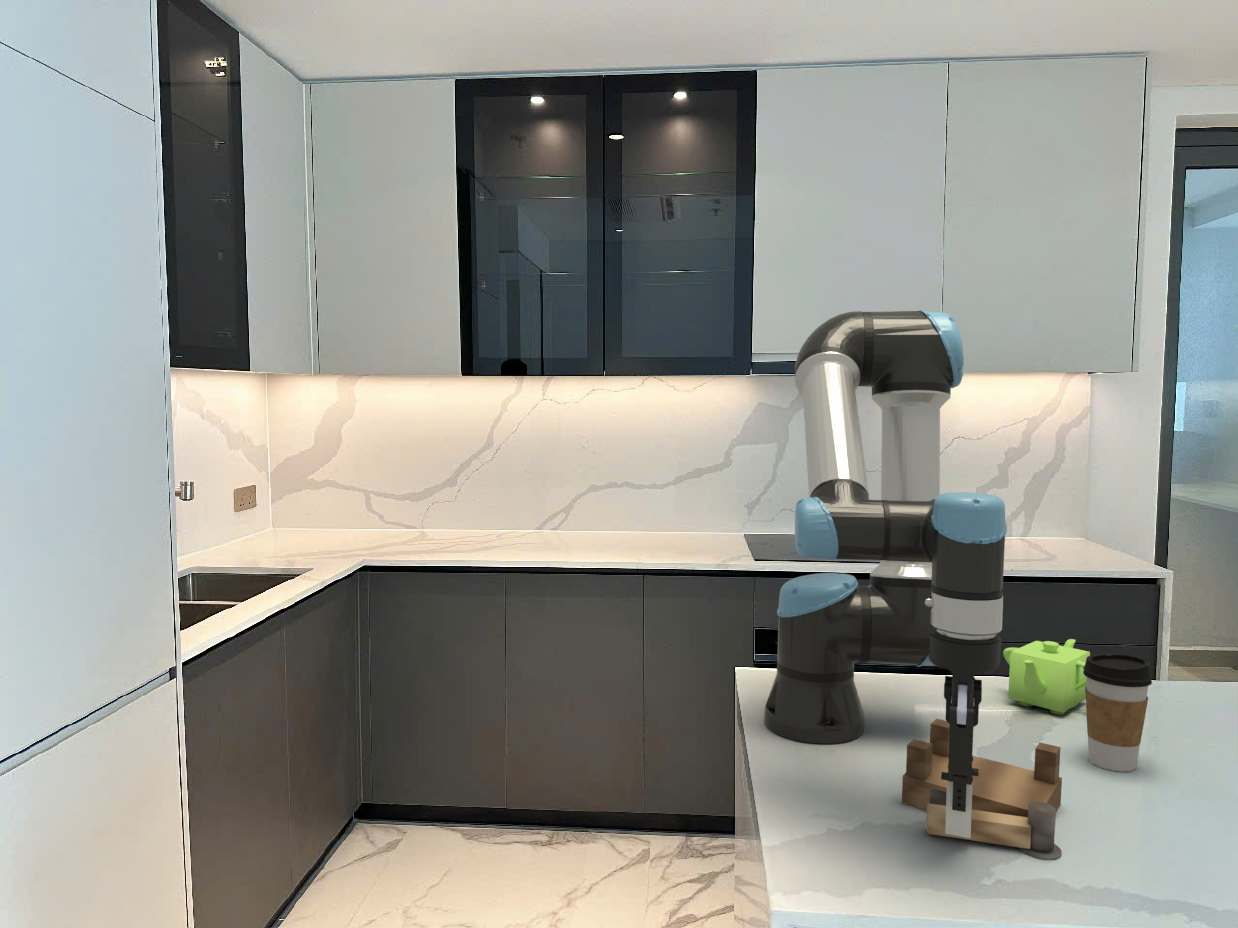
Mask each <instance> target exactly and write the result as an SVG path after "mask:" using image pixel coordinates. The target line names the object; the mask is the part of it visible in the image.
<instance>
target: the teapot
mask: <svg viewBox="0 0 1238 928" xmlns="http://www.w3.org/2000/svg"><path fill="white" fill-rule="evenodd" d="M1075 643H1076V639H1073V638H1069V639H1067V640H1066V641H1065V643H1064V645H1061V644H1059V643H1058V642H1055V641H1052V640H1051V641H1050V640H1045V641H1041V640H1035V641H1032V642H1030V643H1027V644H1026V645H1023V646H1021V647H1006V648H1005V649H1004V650H1003V651H1002V653H1003V654H1002V655H1003V657H1004V659H1005V661H1006V663H1007V664H1008V665H1009V673H1008V674H1009V676H1008V677H1009V678H1008V693H1007V695H1008V696H1007V698H1008V699H1009V700H1013V701H1016V702H1018V704H1019V705H1020V706H1024V707H1032V706H1036V707H1039V708H1044V709H1046V710H1050V711H1049V712H1050V713H1051V712H1052V714H1053V713H1054V715H1058V714H1063V715H1065V712H1067V711H1068V710H1070V709H1072V708H1076V707H1077V705H1078V704H1080V703H1082V702H1084V701H1086V697H1085V687H1086V686H1087V682H1086V676H1085V675H1084V674H1083V671H1084V669H1083V667H1084V666H1085V663H1086V658H1087V657H1088V656H1090V655H1091V652H1090V651H1088V650H1087V651H1086V650H1082V649H1079V648H1074V645H1075ZM1055 713H1056V714H1055Z"/></svg>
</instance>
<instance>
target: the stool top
mask: <svg viewBox="0 0 1238 928" xmlns="http://www.w3.org/2000/svg"><path fill="white" fill-rule="evenodd" d="M929 733H930V734H929V742H927V741H924V740H919V739H916V738H912V739H911V741H910V742H908V743H907V744H906V761H905V763H906V765H905V773H904V774H903V775H902V783H901V784H902V786H901V803H903V804H906V805H909V806H913V807H917V808H919V807H920V809H923V810H926V811H927V803H929V804H936V805H943V806H946V796H947V780H941V774H942V772H946V773H948V762H949V757H948V754H949V723H948V722H947V721H946V719H945V720H944V719H941V718H940V719H939V718H935V719H934V720H933V721H932V722H931V723H930V732H929ZM1034 750H1035V751H1034V767H1033V769H1034V770H1032V769H1028V768H1024V767H1020V766H1016V765H1014V764H1009V763H1004V762H1000V761H996V760H991V759H988V758H985V757H981V756H976V755H973V754H972V756H973V761H972V768H975V769H979V775H978V776H973V785H972V810H978V811H985V812H993V813H1000V814H1007V815H1014V816H1021V817H1028V805H1029V803H1030V802H1035V801H1037V802H1044V803H1047V804H1050V805H1052V806H1053V807H1055V809H1056V813H1057V812H1058V810H1059V808H1060V806H1061V803H1062V786H1063V777H1060V767H1061V766H1060V765H1061V763H1060V762H1061V761H1060V760H1061V746H1058V745H1052V744H1049V743H1044V742H1039V743H1038V744H1037V745H1036V747H1035V749H1034ZM1018 848H1019V850H1021V852H1023V853H1024V854H1026V855H1028V856H1030V857H1032V858H1035V859H1039V860H1047V861H1053V860H1057V859H1060V858H1061V857H1062V855H1063V854H1062V853H1063V852H1062V851H1063V850H1062V849H1061V847H1059V846H1058V845H1057V844H1055V843H1054V849H1053V850H1052V851H1049V852H1043V851H1038V850H1035V849H1033V848H1031V847H1030V849H1027V848H1020V847H1018Z"/></svg>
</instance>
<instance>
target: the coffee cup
mask: <svg viewBox="0 0 1238 928" xmlns="http://www.w3.org/2000/svg"><path fill="white" fill-rule="evenodd" d="M1151 666H1152V665H1151V662H1150V660H1148V659H1147V658H1144V657H1141V656H1138V655H1135V654H1134V655H1133V654H1124V653H1099V654H1098V653H1097V654H1090V656H1088V657H1087V658H1086V663H1085V666H1084V667H1083V669H1084V671H1083V674H1084V675H1085V676H1086V682H1087V686H1086V687H1085V697H1086V699H1085V712H1086V728H1087V729H1086V731H1087V746H1088V748H1087V750H1088V752H1087V753H1088V761H1089V762H1090V763H1091V764H1093V765H1094V766H1096V767H1099V768H1101V769H1105V770H1108V771H1113V772H1119V773H1120V772H1122V773H1125V772H1126V773H1127V772H1134V771H1135V770H1136V769H1137V767H1138V759H1139V754H1140V753H1139V752H1140V746H1141V743H1142V742H1141V741H1142V736H1143V730H1144V724H1145V720H1146V719H1145V718H1146V714H1147V713H1146V712H1147V707H1148V702H1149V696H1148V690H1149V686H1151V685H1152V684H1153V681H1152V680H1153V675H1152V669H1151Z"/></svg>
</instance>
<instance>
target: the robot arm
mask: <svg viewBox="0 0 1238 928" xmlns="http://www.w3.org/2000/svg"><path fill="white" fill-rule="evenodd" d="M962 340H963V339H962V336H961V332H960V329H959V327H958V324H957V323H956V320H955V319H954V317H952V315H950V314H948V313H946V312H940V311H938V312H937V311H926V310H921V309H919V310H908V311H907V310H906V311H905V310H902V311H900V310H899V311H861V310H860V311H859V310H858V311H857V310H856V311H847V312H843V313H840V314H838V315H835V316H833V317H831V318H828V319H827V320H826V321H825V322H822V324H820V325H819V326H818V327H817V328H815V329H814V330H813V331H812V332H811V333H810V335H809V336H808V337H807V338H806V339H805V341H804V343H803V344H802V346H801V348H800V349H799V351H798V354H797V356H796V361H795V365H794V380H795V381H794V382H795V387H796V389H797V391H798V393H799V394H800V395H801V396H802V400H803V403H802V404H803V419H804V421H803V422H804V432H805V433H804V434H805V437H804V438H805V450H806V451H805V452H806V469H807V481H808V482H807V484H808V485H807V486H808V497H802V498H800V499H798V500H797V501H796V504H795V511H794V512H795V514H794V543H795V544H794V545H795V550H796V552H797V553H798V554H799V555H800V556H802V557H806V558H814V559H821V560H823V559H824V560H828V561H829V560H830V561H834V560H855V561H856V560H860V561H861V560H862V561H867V560H868V561H880V562H879V564H878V565H877V566H876V567H875V568H874V569H873V570H872V571H871V572H870V573H869V585H861V584H860V585H859V582H858V581H857V578H856V577H855V576H854V575H851V574H848V573H837V572H821V573H812V574H806V575H801V576H797V577H794V578H792V579H789V580H788V581H786V582H785V583H783V585H782V586H781V587H780V590H779V598H778V608H777V610H776V614H777V616H778V630H777V632H778V633H777V657H776V659H777V661H776V674H775V678H774V680H773V684H772V685H771V689H770V691H769V694H768V697H767V700H766V702H765V705H764V720H763V721H764V725H765V726H766V728H768V729H769V730H771V731H772V732H773V733H775V734H776V735H779V736H782V737H784V738H788V739H790V740H795V741H798V742H799V741H800V742H803V743H805V742H806V743H813V744H840V743H846V742H849V741H850V742H851V741H853V740H855V739H857V738H859V737H861V736H862V735H863V734H864V731H865V714H864V709H863V707H862V703H861V700H860V697H859V693H858V689H857V687H856V683H855V677H854V676H855V663H865V664H883V665H903V666H904V665H908V666H915V667H917V668H919V667H923V666H934V667H935V666H936V667H938V668H940V669H943V670H944V669H945V670H948V671H950V672H951V673H952V675H951V676H949V675H945V676H944V683H943V684H944V685H943V698H944V700H945V721H947V722H948V723H949V754H948V757H949V762H948V773H946V772H942V774H941V780H947V796H946V826H945V834H949V835H955V836H960V837H966V838H971V814H972V785H973V776H978V775H979V769H975V768H972V761H973V756H974V755H973V750H974V749H973V747H974V746H973V743H974V728H975V727H976V726H978V724H979V711H980V707H979V706H980V704H981V703H982V697H983V696H982V694H983V687H982V686H983V682H982V681H983V680H981V679H977V678H975V675H977V674H980V673H982V674H988V673H992V672H994V671H997V670H998V669H999V668H1000V666H1001V654H1002V653H1001V649H1002V647H1001V646H1002V639H1001V637H1000V636H999V634H998V633H1000V632H1001V631H1002V630H1003V613H1004V612H1003V610H1004V595H1003V589H1004V572H1005V571H1004V569H1005V567H1004V565H1005V545H1006V544H1005V543H1006V535H1007V531H1008V526H1007V523H1006V505H1005V502H1004V500H1003V499H1002V498H1001V497H999V496H997V495H994V494H988V493H984V492H983V493H981V492H968V491H966V492H963V491H962V492H961V491H959V492H956V491H955V492H943V493H940V492H941V491H940V490H941V489H940V487H941V485H940V483H941V470H940V469H941V468H940V467H941V461H940V460H941V459H940V458H941V457H940V456H941V450H940V449H941V408H942V406H944V405H945V404H946V403H947V402H948V401H949V400H950V399H951V390H952V389H955V388H956V387H959V386H960V385H961V383H962V380H963V376H964V368H963V367H964V357H965V356H964V347H963V342H962ZM858 387H870V388H871V400H872V401H873V402H874V403H875V404H876V405H877V406H878V407H879V408H880V410H881V458H880V459H881V464H880V465H881V467H880V468H881V469H880V470H881V473H880V474H881V475H880V476H881V477H880V480H881V481H880V485H881V486H880V490H881V491H880V493H881V494H880V499H870V497H869V495H870V494H869V486H868V479H867V469H866V465H865V464H866V463H865V455H864V447H863V441H862V434H861V427H860V418H859V411H858V410H859V409H858V403H857V396H856V394H857V393H856V390H857V389H858ZM972 755H973V756H972Z"/></svg>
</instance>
